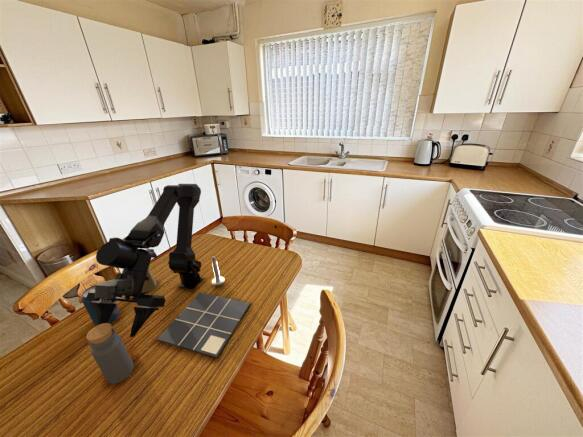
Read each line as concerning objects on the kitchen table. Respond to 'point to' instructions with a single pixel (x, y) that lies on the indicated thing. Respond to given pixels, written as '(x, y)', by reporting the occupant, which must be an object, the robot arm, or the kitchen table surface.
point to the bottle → (110, 353)
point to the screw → (217, 274)
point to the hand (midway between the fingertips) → (115, 334)
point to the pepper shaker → (149, 282)
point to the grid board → (205, 324)
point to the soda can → (92, 310)
